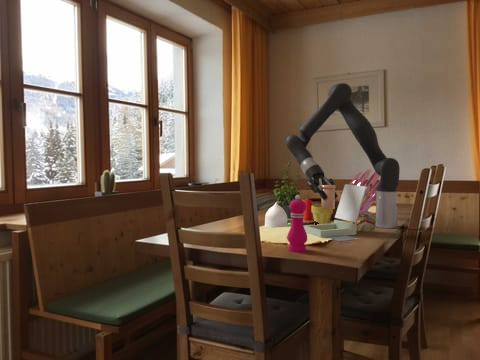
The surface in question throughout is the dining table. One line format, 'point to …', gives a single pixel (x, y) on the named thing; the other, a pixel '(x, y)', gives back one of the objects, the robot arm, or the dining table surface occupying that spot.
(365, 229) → the chocolate bunny
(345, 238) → the slate coaster
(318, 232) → the cold frame
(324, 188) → the terracotta pot
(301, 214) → the pepper mill
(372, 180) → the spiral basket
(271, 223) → the teardrop
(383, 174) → the robot arm
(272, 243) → the dining table surface
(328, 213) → the plant pot
